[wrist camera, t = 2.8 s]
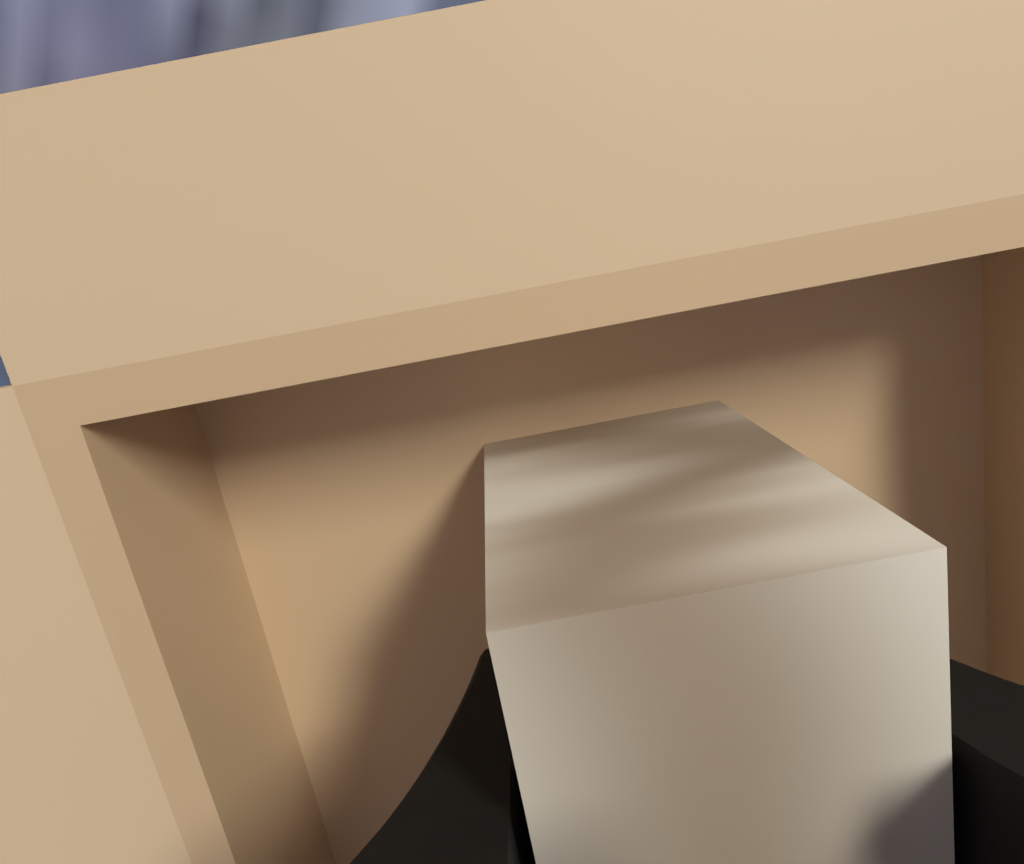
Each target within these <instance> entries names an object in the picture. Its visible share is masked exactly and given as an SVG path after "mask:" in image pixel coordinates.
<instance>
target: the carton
mask: <svg viewBox="0 0 1024 864" xmlns="http://www.w3.org/2000/svg"><path fill="white" fill-rule="evenodd" d="M0 355H1V358H2V360H3V363H4V366H5V368H6V371H7V374H8V376H9V379H10V382H11V384H12V385H7V386H2V387H0V864H350V863H351V862H352V860H353V859H354V858H355V857H356V856H357V855H358V854H359V852H360V851H361V850H362V849H363V848H364V847H365V846H366V845H367V843H368V842H369V841H370V840H371V839H372V838H373V837H374V835H375V834H376V833H377V832H378V831H379V830H380V828H381V827H382V826H383V825H384V824H385V822H386V821H387V820H388V818H389V817H390V816H391V814H392V813H393V812H394V810H395V809H396V808H397V806H398V805H399V804H400V802H401V801H402V800H403V798H404V797H405V795H406V794H407V793H408V791H409V790H410V788H411V787H412V785H413V784H414V782H415V781H416V779H417V778H418V776H419V775H420V773H421V772H422V770H423V769H424V767H425V765H426V764H427V762H428V760H429V759H430V757H431V755H432V754H433V752H434V750H435V749H436V747H437V745H438V744H439V742H440V740H441V739H442V737H443V735H444V733H445V731H446V730H447V728H448V726H449V724H450V722H451V720H452V718H453V716H454V714H455V712H456V710H457V708H458V706H459V704H460V702H461V700H462V698H463V696H464V694H465V692H466V689H467V687H468V685H469V683H470V680H471V678H472V676H473V673H474V671H475V668H476V666H477V663H478V660H479V658H480V656H481V654H482V653H483V652H484V650H485V649H489V645H488V641H487V636H486V596H485V484H484V444H488V443H493V442H499V441H504V440H509V439H515V438H520V437H525V436H530V435H536V434H541V433H546V432H552V431H557V430H562V429H568V428H573V427H578V426H584V425H589V424H594V423H599V422H605V421H610V420H615V419H621V418H626V417H631V416H637V415H642V414H647V413H652V412H658V411H663V410H668V409H674V408H679V407H684V406H690V405H695V404H700V403H705V402H711V401H716V400H719V401H721V402H722V403H724V404H725V405H727V406H729V407H730V408H732V409H733V410H735V411H736V412H738V413H739V414H741V415H743V416H744V417H746V418H747V419H749V420H750V421H752V422H753V423H755V424H756V425H758V426H760V427H761V428H763V429H764V430H766V431H767V432H769V433H770V434H772V435H774V436H775V437H777V438H778V439H780V440H781V441H783V442H784V443H786V444H787V445H789V446H791V447H792V448H794V449H795V450H797V451H798V452H800V453H801V454H803V455H805V456H806V457H808V458H809V459H811V460H812V461H814V462H815V463H817V464H819V465H820V466H822V467H823V468H825V469H826V470H828V471H829V472H831V473H832V474H834V475H836V476H837V477H839V478H840V479H842V480H843V481H845V482H846V483H848V484H850V485H851V486H853V487H854V488H856V489H857V490H859V491H860V492H862V493H864V494H865V495H867V496H868V497H870V498H871V499H873V500H874V501H876V502H877V503H879V504H881V505H882V506H884V507H885V508H887V509H888V510H890V511H891V512H893V513H895V514H896V515H898V516H899V517H901V518H902V519H904V520H905V521H907V522H908V523H910V524H912V525H913V526H915V527H916V528H918V529H919V530H921V531H922V532H924V533H926V534H927V535H929V536H930V537H932V538H933V539H935V540H936V541H938V542H940V543H941V544H943V545H944V546H946V547H947V578H948V617H949V657H950V659H953V660H955V661H958V662H960V663H963V664H965V665H968V666H970V667H973V668H975V669H978V670H980V671H983V672H986V673H988V674H991V675H994V676H997V677H999V678H1002V679H1005V680H1008V681H1011V682H1014V683H1017V684H1020V685H1023V686H1024V0H485V1H480V2H475V3H470V4H465V5H459V6H454V7H449V8H444V9H439V10H434V11H428V12H423V13H418V14H413V15H408V16H402V17H397V18H392V19H387V20H382V21H377V22H371V23H366V24H361V25H356V26H351V27H346V28H340V29H335V30H330V31H325V32H320V33H314V34H309V35H304V36H299V37H294V38H289V39H283V40H278V41H273V42H268V43H263V44H258V45H252V46H247V47H242V48H237V49H232V50H226V51H221V52H216V53H211V54H206V55H201V56H195V57H190V58H185V59H180V60H175V61H169V62H164V63H159V64H154V65H149V66H144V67H138V68H133V69H128V70H123V71H118V72H113V73H107V74H102V75H97V76H92V77H87V78H81V79H76V80H71V81H66V82H61V83H56V84H50V85H45V86H40V87H35V88H30V89H24V90H19V91H14V92H9V93H4V94H0Z"/></svg>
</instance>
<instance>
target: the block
mask: <svg viewBox="0 0 1024 864" xmlns="http://www.w3.org/2000/svg"><path fill="white" fill-rule="evenodd" d="M484 484H485V596H486V636H487V641H488V645H489V650H490V655H491V659H492V664H493V668H494V673H495V678H496V682H497V687H498V691H499V696H500V701H501V705H502V710H503V714H504V719H505V724H506V728H507V733H508V737H509V742H510V747H511V751H512V756H513V760H514V765H515V770H516V774H517V779H518V783H519V788H520V793H521V797H522V802H523V806H524V811H525V816H526V820H527V825H528V829H529V834H530V839H531V843H532V848H533V852H534V857H535V862H536V864H955V856H954V816H953V777H952V737H951V697H950V657H949V617H948V578H947V547H946V546H944V545H943V544H941V543H940V542H938V541H936V540H935V539H933V538H932V537H930V536H929V535H927V534H926V533H924V532H922V531H921V530H919V529H918V528H916V527H915V526H913V525H912V524H910V523H908V522H907V521H905V520H904V519H902V518H901V517H899V516H898V515H896V514H895V513H893V512H891V511H890V510H888V509H887V508H885V507H884V506H882V505H881V504H879V503H877V502H876V501H874V500H873V499H871V498H870V497H868V496H867V495H865V494H864V493H862V492H860V491H859V490H857V489H856V488H854V487H853V486H851V485H850V484H848V483H846V482H845V481H843V480H842V479H840V478H839V477H837V476H836V475H834V474H832V473H831V472H829V471H828V470H826V469H825V468H823V467H822V466H820V465H819V464H817V463H815V462H814V461H812V460H811V459H809V458H808V457H806V456H805V455H803V454H801V453H800V452H798V451H797V450H795V449H794V448H792V447H791V446H789V445H787V444H786V443H784V442H783V441H781V440H780V439H778V438H777V437H775V436H774V435H772V434H770V433H769V432H767V431H766V430H764V429H763V428H761V427H760V426H758V425H756V424H755V423H753V422H752V421H750V420H749V419H747V418H746V417H744V416H743V415H741V414H739V413H738V412H736V411H735V410H733V409H732V408H730V407H729V406H727V405H725V404H724V403H722V402H721V401H719V400H716V401H711V402H705V403H700V404H695V405H690V406H684V407H679V408H674V409H668V410H663V411H658V412H652V413H647V414H642V415H637V416H631V417H626V418H621V419H615V420H610V421H605V422H599V423H594V424H589V425H584V426H578V427H573V428H568V429H562V430H557V431H552V432H546V433H541V434H536V435H530V436H525V437H520V438H515V439H509V440H504V441H499V442H493V443H488V444H484Z"/></svg>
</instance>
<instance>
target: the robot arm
mask: <svg viewBox="0 0 1024 864" xmlns="http://www.w3.org/2000/svg"><path fill="white" fill-rule="evenodd" d="M950 697H951V737H952V777H953V816H954V856H955V864H1024V686H1023V685H1020V684H1017V683H1014V682H1011V681H1008V680H1005V679H1002V678H999V677H997V676H994V675H991V674H988V673H986V672H983V671H980V670H978V669H975V668H973V667H970V666H968V665H965V664H963V663H960V662H958V661H955V660H953V659H950ZM350 864H536V862H535V857H534V852H533V848H532V843H531V839H530V834H529V829H528V825H527V820H526V816H525V811H524V806H523V802H522V797H521V793H520V788H519V783H518V779H517V774H516V770H515V765H514V760H513V756H512V751H511V747H510V742H509V737H508V733H507V728H506V724H505V719H504V714H503V710H502V705H501V701H500V696H499V691H498V687H497V682H496V678H495V673H494V668H493V664H492V659H491V655H490V650H489V649H485V650H484V652H483V653H482V654H481V656H480V658H479V660H478V663H477V666H476V668H475V671H474V673H473V676H472V678H471V680H470V683H469V685H468V687H467V689H466V692H465V694H464V696H463V698H462V700H461V702H460V704H459V706H458V708H457V710H456V712H455V714H454V716H453V718H452V720H451V722H450V724H449V726H448V728H447V730H446V731H445V733H444V735H443V737H442V739H441V740H440V742H439V744H438V745H437V747H436V749H435V750H434V752H433V754H432V755H431V757H430V759H429V760H428V762H427V764H426V765H425V767H424V769H423V770H422V772H421V773H420V775H419V776H418V778H417V779H416V781H415V782H414V784H413V785H412V787H411V788H410V790H409V791H408V793H407V794H406V795H405V797H404V798H403V800H402V801H401V802H400V804H399V805H398V806H397V808H396V809H395V810H394V812H393V813H392V814H391V816H390V817H389V818H388V820H387V821H386V822H385V824H384V825H383V826H382V827H381V828H380V830H379V831H378V832H377V833H376V834H375V835H374V837H373V838H372V839H371V840H370V841H369V842H368V843H367V845H366V846H365V847H364V848H363V849H362V850H361V851H360V852H359V854H358V855H357V856H356V857H355V858H354V859H353V860H352V862H351V863H350Z"/></svg>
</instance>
